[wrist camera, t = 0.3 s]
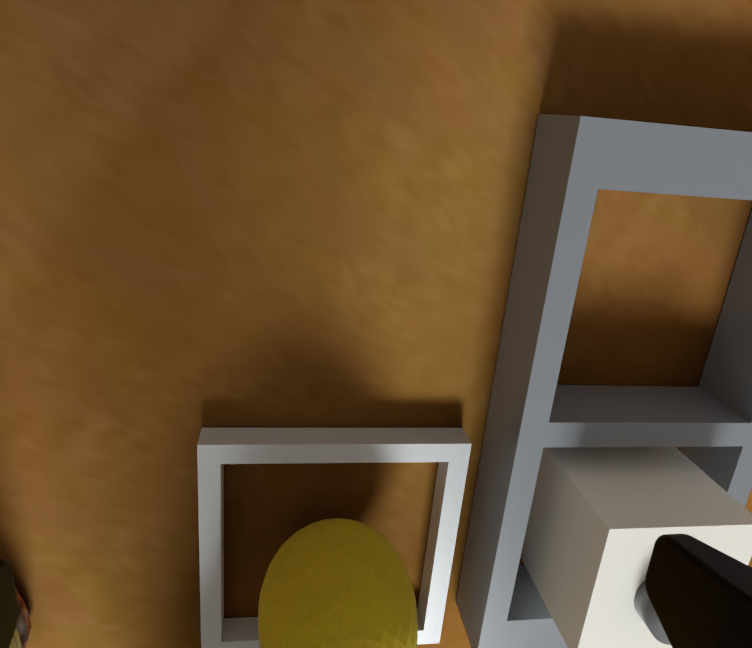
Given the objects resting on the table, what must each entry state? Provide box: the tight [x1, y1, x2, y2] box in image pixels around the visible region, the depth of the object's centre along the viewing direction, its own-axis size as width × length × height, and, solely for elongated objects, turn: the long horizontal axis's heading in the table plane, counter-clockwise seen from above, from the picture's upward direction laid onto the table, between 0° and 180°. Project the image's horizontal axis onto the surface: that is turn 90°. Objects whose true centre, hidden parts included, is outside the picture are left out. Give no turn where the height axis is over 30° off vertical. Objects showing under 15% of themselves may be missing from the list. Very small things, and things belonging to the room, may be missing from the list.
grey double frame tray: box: [456, 114, 752, 648], centre depth 23 cm, size 21×10×3 cm, turn 175°
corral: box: [197, 428, 472, 648], centre depth 24 cm, size 10×10×1 cm
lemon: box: [258, 518, 418, 648], centre depth 21 cm, size 6×6×8 cm
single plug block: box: [521, 447, 752, 648], centre depth 22 cm, size 6×6×7 cm
